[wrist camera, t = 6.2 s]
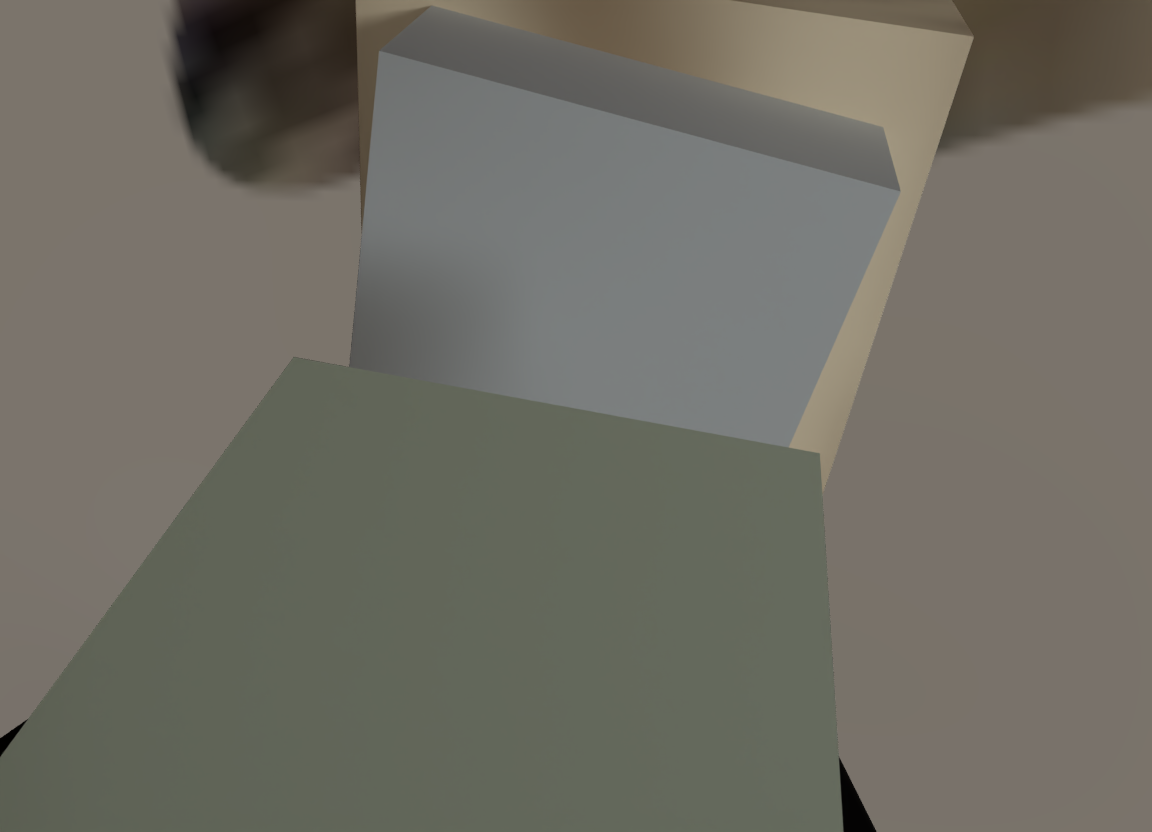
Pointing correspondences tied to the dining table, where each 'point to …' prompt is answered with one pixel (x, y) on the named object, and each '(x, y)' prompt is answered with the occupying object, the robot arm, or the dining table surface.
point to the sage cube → (456, 632)
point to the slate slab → (608, 231)
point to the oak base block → (769, 67)
